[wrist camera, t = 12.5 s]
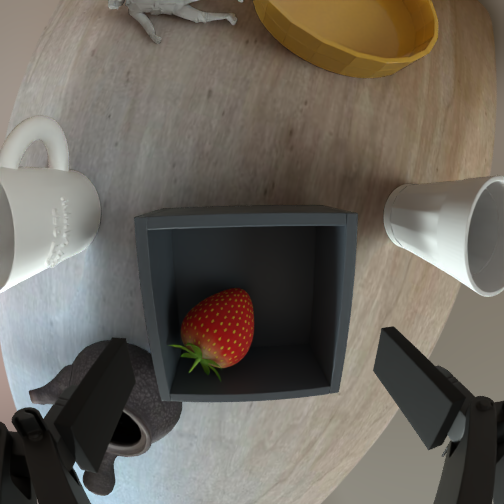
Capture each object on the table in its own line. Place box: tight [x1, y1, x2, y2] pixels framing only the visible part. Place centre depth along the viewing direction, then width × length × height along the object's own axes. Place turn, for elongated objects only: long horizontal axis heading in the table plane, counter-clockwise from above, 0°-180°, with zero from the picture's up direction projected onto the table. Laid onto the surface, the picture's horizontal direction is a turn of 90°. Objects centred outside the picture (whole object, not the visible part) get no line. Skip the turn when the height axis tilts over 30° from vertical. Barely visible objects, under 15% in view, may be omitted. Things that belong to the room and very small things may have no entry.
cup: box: [384, 176, 504, 297], centre depth 19 cm, size 8×8×12 cm
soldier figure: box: [108, 0, 244, 44], centre depth 18 cm, size 8×5×12 cm
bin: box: [134, 205, 358, 402], centre depth 22 cm, size 14×14×8 cm
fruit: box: [167, 288, 254, 381], centre depth 22 cm, size 5×5×8 cm
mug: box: [0, 115, 101, 293], centre depth 17 cm, size 8×12×12 cm
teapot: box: [29, 340, 182, 496], centre depth 23 cm, size 19×15×10 cm
